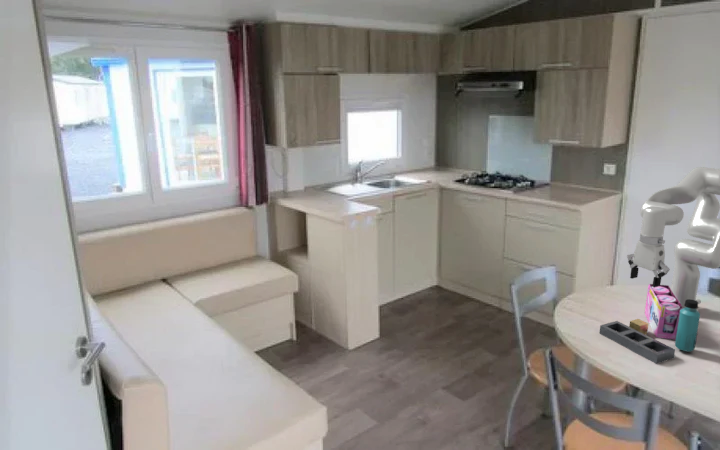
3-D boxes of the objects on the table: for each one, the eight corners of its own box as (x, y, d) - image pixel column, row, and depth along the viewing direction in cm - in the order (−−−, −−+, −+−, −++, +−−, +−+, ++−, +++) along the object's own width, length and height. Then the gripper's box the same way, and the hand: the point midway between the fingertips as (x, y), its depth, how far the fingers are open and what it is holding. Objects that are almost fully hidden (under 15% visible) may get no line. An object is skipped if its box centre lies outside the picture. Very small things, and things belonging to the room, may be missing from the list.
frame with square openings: (615, 328, 211) (617, 320, 210) (673, 358, 188) (675, 349, 188) (599, 333, 207) (600, 325, 206) (656, 363, 185) (657, 355, 184)
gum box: (679, 342, 200) (685, 309, 196) (656, 339, 202) (661, 307, 198) (664, 314, 222) (669, 285, 218) (643, 312, 224) (648, 283, 220)
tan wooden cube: (636, 329, 210) (638, 318, 209) (647, 334, 206) (648, 323, 205) (628, 331, 208) (630, 321, 207) (638, 336, 204) (640, 325, 203)
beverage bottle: (694, 357, 189) (703, 306, 183) (672, 352, 192) (681, 302, 187) (694, 349, 194) (703, 299, 189) (673, 344, 198) (681, 295, 192)
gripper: (679, 244, 190) (672, 288, 195) (638, 232, 205) (632, 273, 210) (665, 247, 187) (658, 291, 192) (624, 234, 202) (618, 276, 207)
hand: (644, 282), depth 201 cm, fingers open, 9 cm apart
